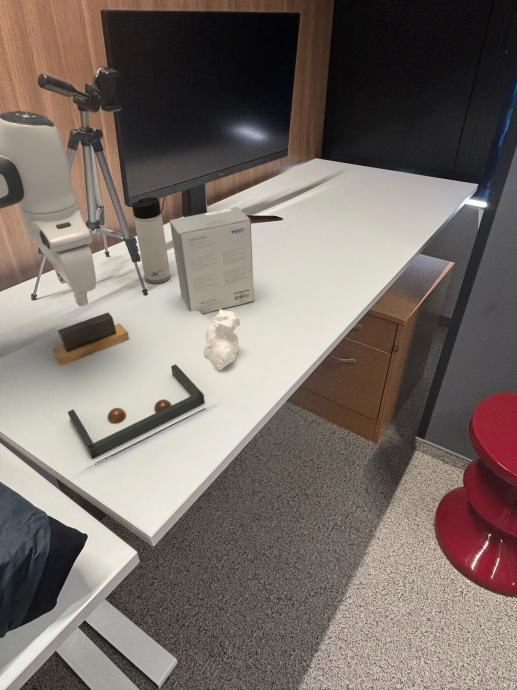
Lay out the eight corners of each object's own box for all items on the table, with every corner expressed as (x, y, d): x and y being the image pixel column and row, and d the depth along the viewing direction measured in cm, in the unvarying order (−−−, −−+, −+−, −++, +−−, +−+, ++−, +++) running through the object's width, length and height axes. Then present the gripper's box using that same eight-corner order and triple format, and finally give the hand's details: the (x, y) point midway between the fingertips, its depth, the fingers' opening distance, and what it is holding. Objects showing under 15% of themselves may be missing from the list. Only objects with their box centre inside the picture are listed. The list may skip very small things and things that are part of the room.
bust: (230, 385, 91) (265, 342, 87) (197, 373, 87) (231, 327, 83) (218, 348, 100) (248, 307, 96) (187, 335, 96) (217, 291, 92)
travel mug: (161, 286, 116) (148, 207, 104) (139, 280, 119) (124, 201, 106) (176, 275, 120) (166, 197, 108) (155, 269, 123) (143, 192, 111)
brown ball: (155, 406, 79) (149, 402, 82) (161, 422, 80) (155, 417, 83) (171, 398, 81) (165, 394, 83) (177, 414, 82) (170, 409, 84)
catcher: (94, 464, 74) (89, 450, 72) (72, 426, 81) (67, 411, 79) (205, 409, 83) (203, 394, 81) (178, 378, 90) (175, 363, 88)
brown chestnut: (103, 413, 81) (111, 429, 81) (105, 411, 78) (113, 428, 78) (120, 405, 82) (127, 421, 82) (123, 404, 80) (130, 420, 80)
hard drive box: (242, 286, 116) (239, 206, 103) (255, 301, 110) (252, 219, 98) (180, 300, 111) (168, 218, 99) (189, 317, 105) (178, 233, 93)
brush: (62, 371, 92) (52, 342, 87) (55, 361, 94) (45, 331, 90) (130, 344, 98) (124, 315, 94) (122, 335, 101) (115, 306, 96)
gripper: (16, 204, 84) (38, 274, 93) (53, 247, 71) (75, 324, 80) (53, 196, 87) (71, 264, 96) (94, 236, 74) (111, 311, 82)
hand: (73, 292), depth 87 cm, fingers open, 8 cm apart
